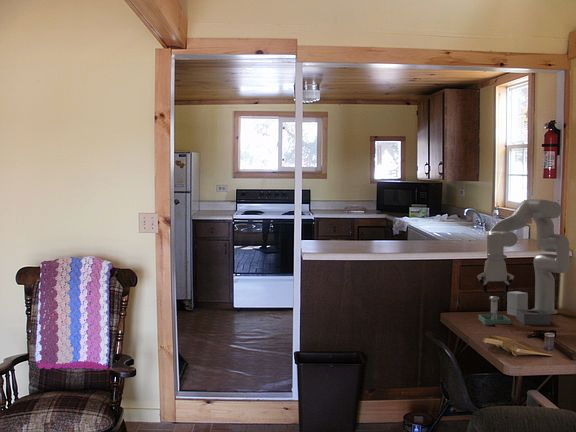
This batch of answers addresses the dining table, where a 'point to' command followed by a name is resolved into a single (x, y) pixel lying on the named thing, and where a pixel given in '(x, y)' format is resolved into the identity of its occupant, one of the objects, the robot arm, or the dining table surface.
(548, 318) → the socket block
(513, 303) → the supplement box
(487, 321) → the tray
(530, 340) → the dining table surface
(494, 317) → the pin
